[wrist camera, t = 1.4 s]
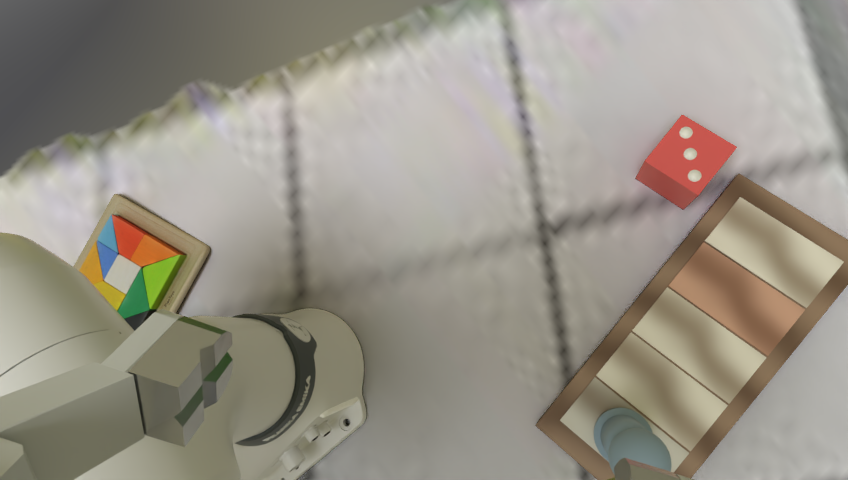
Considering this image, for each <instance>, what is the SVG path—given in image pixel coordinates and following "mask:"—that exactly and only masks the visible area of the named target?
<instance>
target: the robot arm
mask: <svg viewBox="0 0 848 480" xmlns="http://www.w3.org/2000/svg"><path fill="white" fill-rule="evenodd" d="M363 377H364V360H363V354H362V350H361V347H360V344H359V342H358V339H357V338H356V336H355V334H354V332H353V331H352V330H351V328H350V327H349V326H348V325H347V324H346V323H345V322H344V321H343V320H342V319H340V318H339V317H338V316H336V315H334V314H332V313H330V312H328V311H325V310H321V309H314V308H307V309H300V310H296V311H293V312H290V313H286V314H280V315H277V314H243V315H237V316H234V317H218V316H193V317H189V318H188V317H185V316H182V315H179V314H176V313H173V312H170V311H167V310H164V309H161V310H159V311H157V312H154V313H153V314H152V315H151V316H150V317H149V318H148V319H147V320H146V321H145V322H144V323H143V324H142V325H141V326H139V327H138V328H137V329H136V330H135V331H134V330H133V329H132V327H131V326H130V325H129V324H128V323H127V322H126V321H125V320H124V318H123V317H122V316H121V315H120V314H119V313H118V312H117V311H116V310H115V308H114V307H113V306H112V305H111V304H110V303H109V302H108V301H107V300H106V298H105V297H104V296H103V295H102V294H101V293H100V292H99V291H98V289H97V288H96V287H95V286H94V285H93V284H92V283H91V282H90V281H89V279H88V278H87V277H86V276H85V275H84V274H82V273H81V272H80V271H78V270H77V269H75V268H74V267H72V266H71V265H70V264H68V263H67V262H65V261H64V260H62V259H61V258H59V257H58V256H57V255H55V254H53V253H52V252H50V251H48V250H47V249H45V248H44V247H42V246H40V245H39V244H37V243H36V242H34V241H32V240H30V239H28V238H25V237H23V236H19V235H15V234H9V233H0V480H297V479H298V478H299V477H300V476H302V475H303V474H304V473H305V472H306V471H308V470H309V469H310V468H311V467H312V466H314V465H315V464H316V463H317V462H318V461H320V460H321V459H322V458H323V457H324V456H326V455H327V454H328V453H329V452H330V451H331V450H333V449H334V448H335V447H336V446H337V445H339V444H340V443H341V442H342V441H343V440H345V439H346V438H347V437H348V436H349V435H351V434H352V433H353V432H354V431H355V430H357V429H358V428H359V427H360V426H361V425H362V424H363V423H364V422H365V420H366V407H365V403H364V399H363V395H362V385H363ZM346 419H349V421H350V425H349V426H348V425H346V423H345V420H346ZM298 466H299V467H298ZM614 473H615V477H613V478H610V479H607V480H694V479H690V478H687V477H684V476H681V475H678V474H675V473H673V472H670V471H667V470H664V469H660V468H657V467H654V466H651V465H647V464H644V463H641V462H637V461H634V460H631V459H628V458H623V459H621V460H619V461H618V463H617V464H616V465H615V467H614Z"/></svg>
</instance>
